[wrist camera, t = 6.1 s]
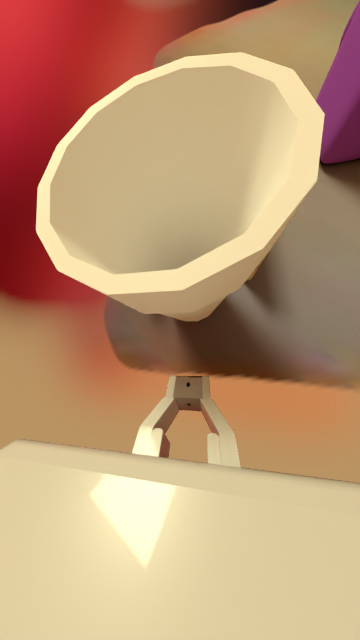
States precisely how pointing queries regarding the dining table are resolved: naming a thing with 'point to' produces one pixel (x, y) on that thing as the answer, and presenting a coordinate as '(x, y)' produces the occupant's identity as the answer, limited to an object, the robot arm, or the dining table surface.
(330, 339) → the dining table surface
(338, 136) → the toy camera
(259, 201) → the foam cup
